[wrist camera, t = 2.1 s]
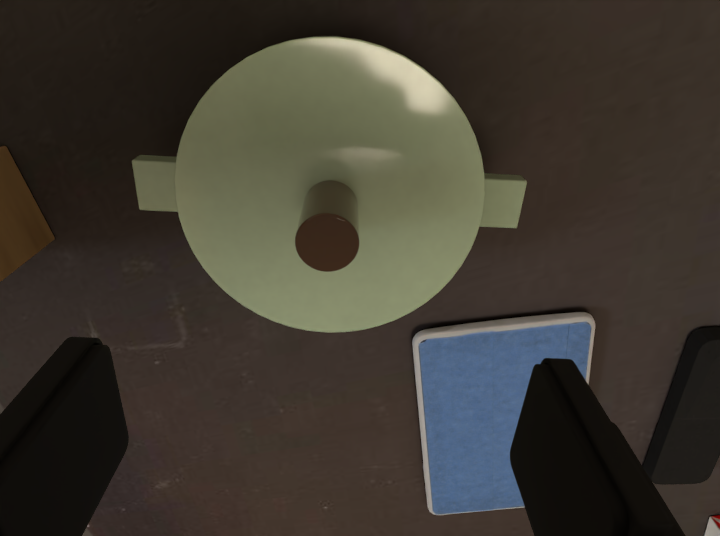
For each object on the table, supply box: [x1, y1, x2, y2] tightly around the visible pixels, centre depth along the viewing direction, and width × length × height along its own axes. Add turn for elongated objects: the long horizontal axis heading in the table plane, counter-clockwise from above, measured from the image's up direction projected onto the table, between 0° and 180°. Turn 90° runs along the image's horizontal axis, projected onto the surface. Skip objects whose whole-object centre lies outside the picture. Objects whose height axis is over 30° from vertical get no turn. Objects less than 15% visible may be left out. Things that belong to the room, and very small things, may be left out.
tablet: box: [412, 312, 595, 515], centre depth 38 cm, size 19×13×1 cm, turn 7°
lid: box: [174, 36, 485, 332], centre depth 21 cm, size 14×14×5 cm
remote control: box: [643, 327, 720, 484], centre depth 38 cm, size 5×2×15 cm
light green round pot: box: [132, 155, 527, 228], centre depth 26 cm, size 13×18×8 cm
